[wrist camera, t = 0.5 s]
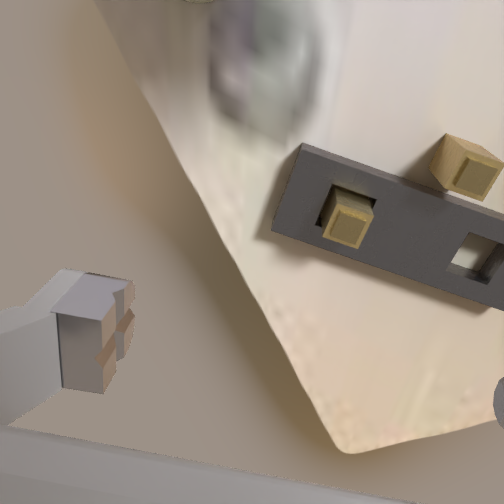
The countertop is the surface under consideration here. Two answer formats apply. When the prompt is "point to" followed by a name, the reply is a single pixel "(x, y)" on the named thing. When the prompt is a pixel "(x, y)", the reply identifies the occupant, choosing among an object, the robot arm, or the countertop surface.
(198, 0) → the glass tumbler
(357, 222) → the tan square peg
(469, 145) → the wooden post chunk
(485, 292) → the grey peg hole board
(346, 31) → the countertop surface
